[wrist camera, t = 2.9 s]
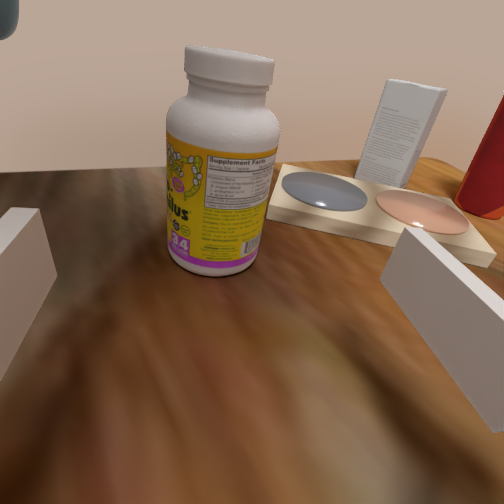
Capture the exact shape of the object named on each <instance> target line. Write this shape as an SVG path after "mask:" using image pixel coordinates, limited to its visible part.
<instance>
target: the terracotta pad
mask: <svg viewBox="0 0 504 504" xmlns="http://www.w3.org/2000/svg"><path fill="white" fill-rule="evenodd" d="M376 203H377V205H378V206H379V208H380V209H381V210H383V211H384V212H385V213H386V214H388V215H389V216H391V217H392V218H394V219H396V220H398V221H400V222H402V223H404V224H406V225H409V226H411V227H416V228H422V229H423V230H424V231H427V232H431V233H436V234H442V235H460V234H463V233H465V232H466V231H467V230H468V228H469V222H468V220H467V219H466V217H465V216H464V215H462V214H461V213H460V212H458V211H457V210H456V209H454V208H452V207H450V206H449V205H447V204H445V203H443V202H440V201H438V200H435V199H433V198H430V197H427V196H424V195H421V194H417V193H413V192H408V191H401V190H385V191H382V192H380V193H378V195H377V196H376Z"/></svg>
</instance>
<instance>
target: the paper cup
mask: <svg viewBox="0 0 504 504" xmlns="http://www.w3.org/2000/svg"><path fill="white" fill-rule="evenodd" d="M503 92H504V90H503ZM453 202H454V204H455V205H456V206H457V207H459V208H460V209H462V210H464V211H466V212H468V213H470V214H473V215H476V216H479V217H482V218H487V219H500V218H501V217H502V216H503V215H504V96H503V98H502V100H501V102H500V104H499V106H498V108H497V110H496V112H495V114H494V117H493V119H492V121H491V123H490V125H489V127H488V129H487V131H486V133H485V135H484V137H483V139H482V141H481V143H480V145H479V148H478V150H477V152H476V154H475V156H474V158H473V160H472V162H471V164H470V166H469V168H468V171H467V172H466V174H465V176H464V179H463V181H462V183H461V185H460V187H459V189H458V191H457V194H456V196H455V198H454V201H453Z"/></svg>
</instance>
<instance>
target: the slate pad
mask: <svg viewBox="0 0 504 504" xmlns="http://www.w3.org/2000/svg"><path fill="white" fill-rule="evenodd" d="M281 185H282V188H283V189H284V191H285V192H286V193H287V194H289V195H290V196H291V197H293V198H295V199H296V200H298V201H300V202H303V203H305V204H308V205H310V206H313V207H317V208H321V209H325V210H331V211H341V212H348V211H356V210H359V209H362V208H363V207H365V205H366V203H367V200H368V199H367V196H366V194H365V193H364V192H363V191H362V190H361V189H360V188H358V187H357V186H355V185H354V184H352V183H350V182H348V181H345V180H343V179H340V178H337V177H334V176H330V175H326V174H321V173H315V172H294V173H290V174H287V175H285V176H284V177H283V179H282V183H281Z"/></svg>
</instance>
